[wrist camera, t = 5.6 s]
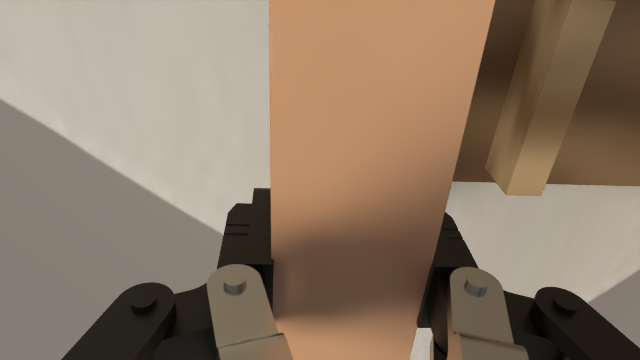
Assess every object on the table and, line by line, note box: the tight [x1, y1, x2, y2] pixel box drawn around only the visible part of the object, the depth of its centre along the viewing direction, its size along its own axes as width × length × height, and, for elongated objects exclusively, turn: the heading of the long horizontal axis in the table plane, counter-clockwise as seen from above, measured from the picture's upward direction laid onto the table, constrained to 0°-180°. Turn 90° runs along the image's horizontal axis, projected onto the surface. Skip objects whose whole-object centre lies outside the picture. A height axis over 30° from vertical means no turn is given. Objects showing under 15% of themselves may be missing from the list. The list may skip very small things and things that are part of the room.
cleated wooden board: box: [452, 0, 640, 196], centre depth 24 cm, size 12×19×4 cm, turn 86°
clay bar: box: [269, 0, 495, 360], centre depth 13 cm, size 16×4×4 cm, turn 177°
